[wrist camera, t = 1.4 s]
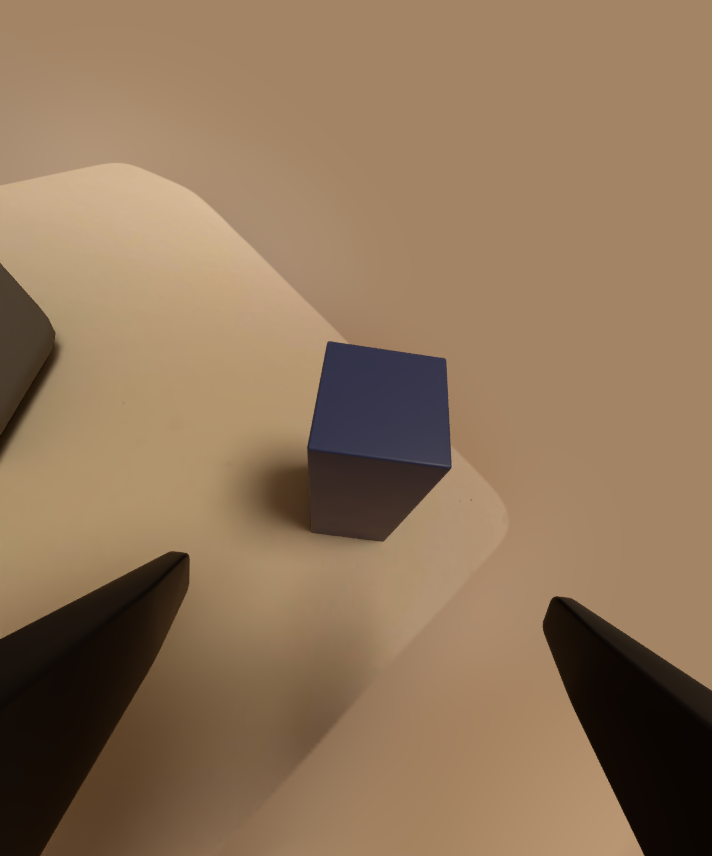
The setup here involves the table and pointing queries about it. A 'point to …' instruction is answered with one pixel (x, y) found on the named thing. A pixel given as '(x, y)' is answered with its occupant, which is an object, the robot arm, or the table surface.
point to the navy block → (375, 439)
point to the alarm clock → (19, 343)
